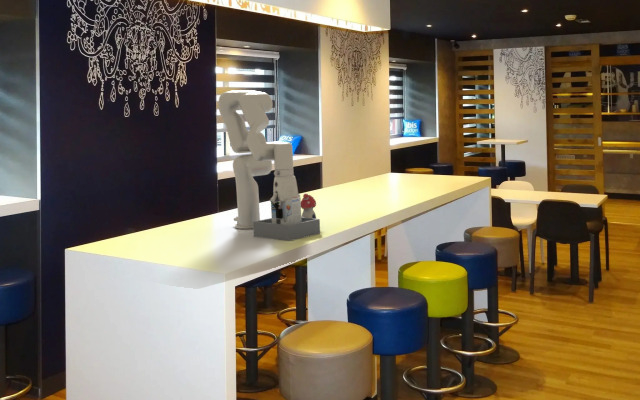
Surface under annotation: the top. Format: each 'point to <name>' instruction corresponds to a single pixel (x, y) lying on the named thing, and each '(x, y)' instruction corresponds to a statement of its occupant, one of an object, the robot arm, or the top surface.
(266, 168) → the robot arm
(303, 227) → the tote
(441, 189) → the top surface
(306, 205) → the decorative ornament
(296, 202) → the light bulb box
